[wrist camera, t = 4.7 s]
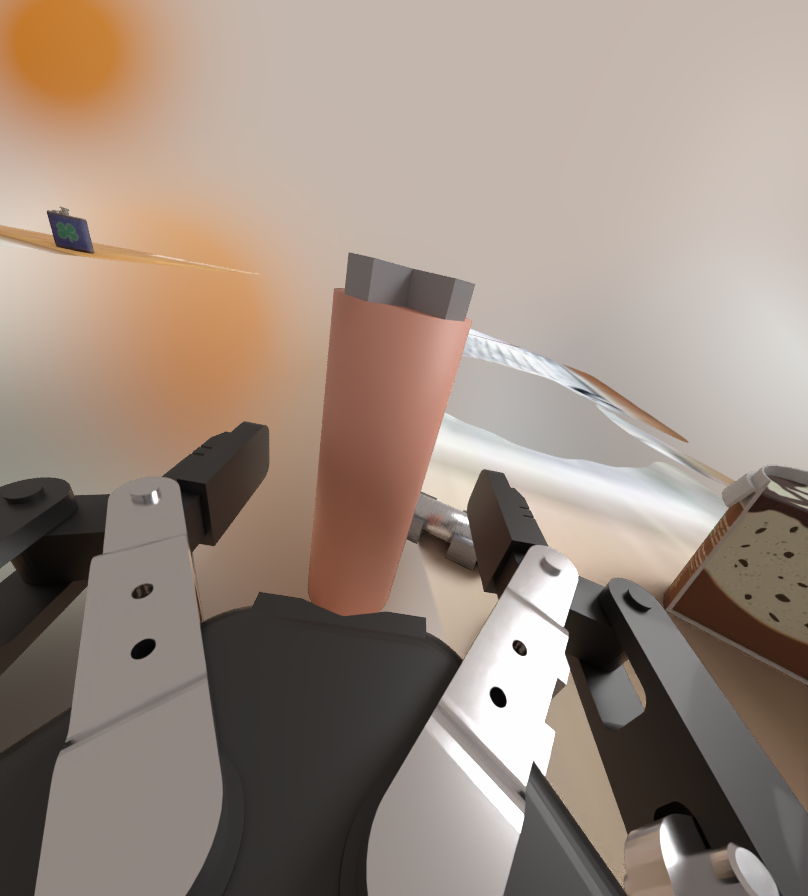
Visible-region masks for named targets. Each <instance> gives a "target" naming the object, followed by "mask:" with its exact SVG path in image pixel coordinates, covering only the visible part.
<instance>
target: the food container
mask: <svg viewBox="0 0 808 896" xmlns="http://www.w3.org/2000/svg"><path fill="white" fill-rule="evenodd" d="M722 498H723V501H724V502H725V504H726V506H727V507H729V509H728V510H727V511H726V513H725V514H724V515H723V517H722V518H721V519H720V521H719V522H718V523H717V525H716V526H715V527H714V529H713V530H712V531H711V533H710V534H709V535H708V537H707V538H706V539H705V541H704V542H703V543H702V544H701V546H700V547H699V548H698V550H697V551H696V552H695V554H694V555H693V556H692V558H691V559H690V560H689V562H688V563H687V564H686V566H685V567H684V568H683V570H682V571H681V572H680V574H679V575H678V576H677V578H676V579H675V580H674V582H673V583H672V584H671V586H670V587H669V588H668V590H667V591H666V593H665V595H664V607H665V611H667V612H669V613H671V614H673V615H675V616H676V617H678V618H680V619H682V620H684V621H686V622H688V623H690V624H692V625H694V626H695V627H697V628H699V629H701V630H703V631H705V632H707V633H709V634H711V635H713V636H714V637H716V638H718V639H720V640H722V641H724V642H726V643H728V644H730V645H731V646H733V647H735V648H737V649H739V650H741V651H743V652H745V653H747V654H749V655H750V656H752V657H754V658H756V659H758V660H760V661H762V662H764V663H766V664H767V665H769V666H771V667H773V668H775V669H777V670H779V671H781V672H783V673H785V674H786V675H788V676H790V677H792V678H794V679H796V680H798V681H800V682H802V683H804V684H805V685H807V686H808V471H805V470H801V469H796V468H792V467H787V466H781V465H766V466H763V467H762V468H761V469H760V470H759V471H752V472H749V473H747V474H746V475H744V476H743V477H741V478H740V479H738V480H737V481H735V482H734V483H732V484H731V485H730V486H728V487H727V488H725V489H724V491H723V492H722Z"/></svg>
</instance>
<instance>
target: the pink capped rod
mask: <svg viewBox="0 0 808 896" xmlns="http://www.w3.org/2000/svg"><path fill="white" fill-rule="evenodd" d="M474 286H475V284H473V283H470V282H466V281H463V280H459V279H455V278H451V277H447V276H442V275H438V274H434V273H429V272H425V271H420V270H416V269H412V268H408V267H405V266H400V265H397V264H394V263H390V262H386V261H383V260H379V259H376V258H371V257H367V256H363V255H358V254H354V253H349V255H348V264H347V275H346V284H345V289H343V288H335V289H334V295H333V306H332V318H331V330H330V342H329V352H328V364H327V375H326V387H325V397H324V409H323V420H322V431H321V443H320V455H319V467H318V478H317V488H316V499H315V511H314V522H313V534H312V545H311V557H310V568H309V580H308V593H309V597H310V600H311V602H312V603H313V604H315V605H317V606H320V607H322V608H324V609H327V610H329V611H331V612H333V613H336V614H338V615H341V616H350V615H359V614H369V613H378V612H380V611H381V610H382V608H383V607H384V606H385V604H386V602H387V600H388V597H389V594H390V591H391V587H392V584H393V581H394V578H395V574H396V571H397V568H398V564H399V561H400V558H401V555H402V551H403V548H404V545H405V541H406V538H407V535H408V531H409V528H410V525H411V522H412V518H413V515H414V512H415V508H416V505H417V502H418V498H419V495H420V492H421V488H422V485H423V482H424V479H425V475H426V472H427V469H428V465H429V462H430V459H431V455H432V452H433V449H434V446H435V442H436V439H437V436H438V432H439V429H440V426H441V422H442V419H443V416H444V413H445V409H446V406H447V402H448V399H449V396H450V393H451V389H452V386H453V383H454V379H455V376H456V373H457V370H458V366H459V363H460V360H461V356H462V353H463V350H464V346H465V343H466V340H467V337H468V333H469V330H470V327H471V323H472V321H471V320H469V319H467V318H466V314H467V311H468V307H469V304H470V300H471V297H472V294H473V290H474Z"/></svg>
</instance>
